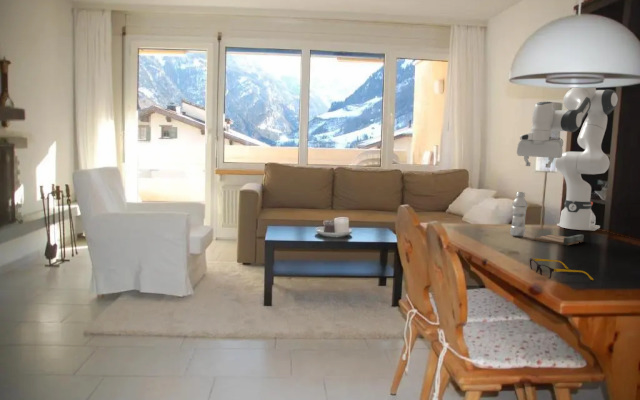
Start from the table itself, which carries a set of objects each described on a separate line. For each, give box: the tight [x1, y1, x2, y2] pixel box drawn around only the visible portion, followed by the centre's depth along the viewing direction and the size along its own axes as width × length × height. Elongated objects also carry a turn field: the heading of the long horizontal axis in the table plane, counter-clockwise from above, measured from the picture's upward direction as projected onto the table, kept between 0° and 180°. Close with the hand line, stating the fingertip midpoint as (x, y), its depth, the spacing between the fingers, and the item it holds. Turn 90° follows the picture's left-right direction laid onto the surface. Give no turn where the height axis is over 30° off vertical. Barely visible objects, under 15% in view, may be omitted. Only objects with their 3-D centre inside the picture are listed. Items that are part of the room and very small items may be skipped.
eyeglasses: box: [529, 258, 594, 281], centre depth 163 cm, size 14×14×4 cm
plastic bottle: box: [509, 191, 528, 238], centre depth 230 cm, size 6×7×20 cm
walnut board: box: [534, 233, 585, 246], centre depth 223 cm, size 16×14×3 cm
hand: (537, 166), depth 238 cm, fingers open, 8 cm apart
